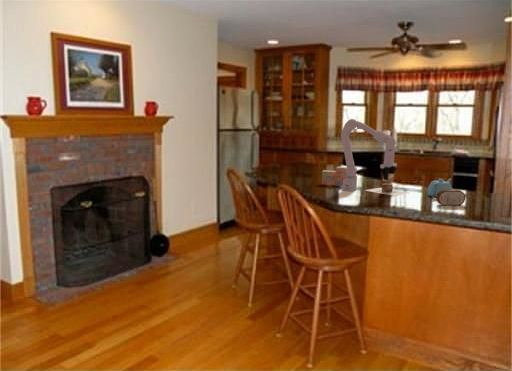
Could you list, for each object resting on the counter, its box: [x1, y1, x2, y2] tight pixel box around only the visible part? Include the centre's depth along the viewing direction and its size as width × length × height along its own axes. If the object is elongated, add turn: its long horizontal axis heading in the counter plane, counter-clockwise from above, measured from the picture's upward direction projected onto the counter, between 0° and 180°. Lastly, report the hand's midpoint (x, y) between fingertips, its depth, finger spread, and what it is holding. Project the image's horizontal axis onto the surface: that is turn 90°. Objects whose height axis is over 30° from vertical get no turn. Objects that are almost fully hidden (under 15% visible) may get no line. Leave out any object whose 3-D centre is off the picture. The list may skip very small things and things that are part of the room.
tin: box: [435, 189, 467, 207], centre depth 235 cm, size 15×3×8 cm, turn 92°
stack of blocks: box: [321, 166, 347, 187], centre depth 293 cm, size 21×6×12 cm, turn 71°
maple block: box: [382, 173, 395, 182], centre depth 268 cm, size 4×4×4 cm
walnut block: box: [381, 183, 394, 192], centre depth 269 cm, size 4×4×4 cm
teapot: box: [427, 178, 453, 198], centre depth 257 cm, size 13×11×18 cm
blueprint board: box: [364, 187, 410, 197], centre depth 269 cm, size 22×16×1 cm
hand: (387, 179), depth 268 cm, fingers closed on maple block, 4 cm apart
